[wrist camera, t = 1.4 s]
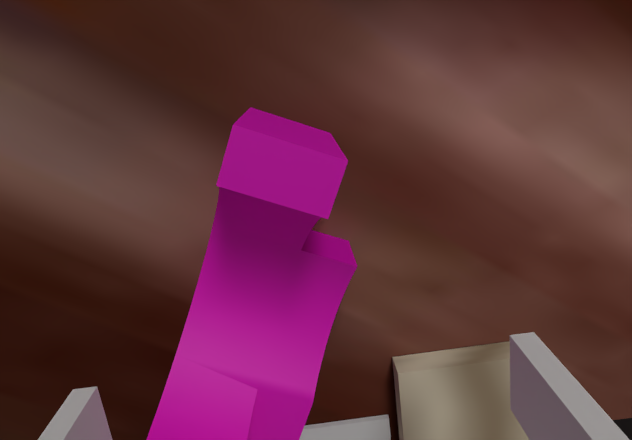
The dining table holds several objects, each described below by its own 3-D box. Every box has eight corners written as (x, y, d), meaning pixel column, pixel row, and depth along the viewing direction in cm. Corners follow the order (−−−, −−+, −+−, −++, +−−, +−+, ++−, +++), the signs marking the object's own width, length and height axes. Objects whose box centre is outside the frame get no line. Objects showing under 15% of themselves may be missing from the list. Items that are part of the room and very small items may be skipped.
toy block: (286, 412, 27) (285, 534, 20) (172, 384, 27) (128, 501, 19) (380, 148, 24) (420, 183, 16) (251, 106, 23) (233, 124, 16)
